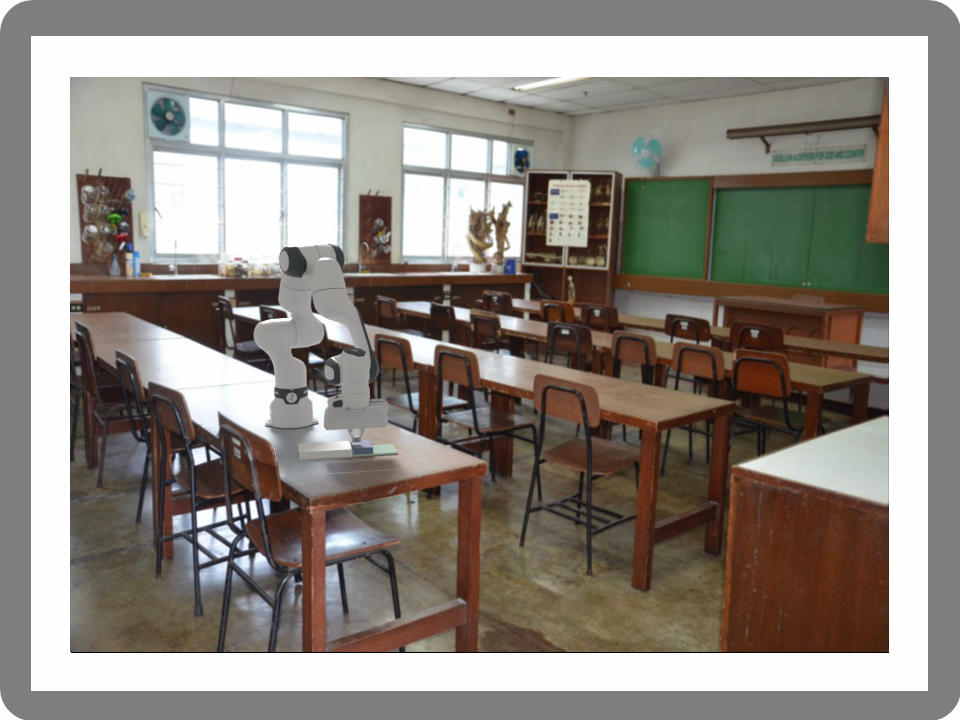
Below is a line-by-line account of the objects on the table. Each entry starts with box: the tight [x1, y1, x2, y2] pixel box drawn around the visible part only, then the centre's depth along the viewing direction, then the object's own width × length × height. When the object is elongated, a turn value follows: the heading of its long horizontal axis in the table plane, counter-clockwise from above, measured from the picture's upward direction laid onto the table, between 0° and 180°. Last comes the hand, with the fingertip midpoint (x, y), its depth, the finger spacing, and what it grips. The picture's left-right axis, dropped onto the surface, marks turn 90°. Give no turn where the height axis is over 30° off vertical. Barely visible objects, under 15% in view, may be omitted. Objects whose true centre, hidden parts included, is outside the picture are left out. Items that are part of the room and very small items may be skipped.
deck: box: [297, 440, 353, 461], centre depth 249 cm, size 10×16×2 cm, turn 105°
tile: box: [350, 439, 373, 454], centre depth 252 cm, size 9×6×2 cm, turn 15°
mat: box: [352, 443, 399, 458], centre depth 253 cm, size 10×14×1 cm
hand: (356, 441), depth 251 cm, fingers closed
